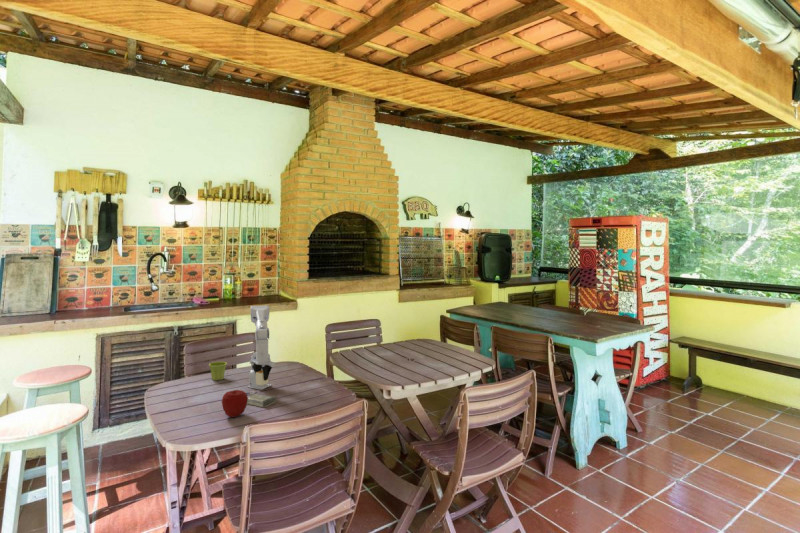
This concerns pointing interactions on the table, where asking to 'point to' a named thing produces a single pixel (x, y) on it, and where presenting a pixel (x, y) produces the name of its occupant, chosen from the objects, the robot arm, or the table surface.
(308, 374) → the table surface
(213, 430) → the table surface
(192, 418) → the table surface
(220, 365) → the plant pot
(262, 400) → the grey piece
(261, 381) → the block
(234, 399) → the apple
